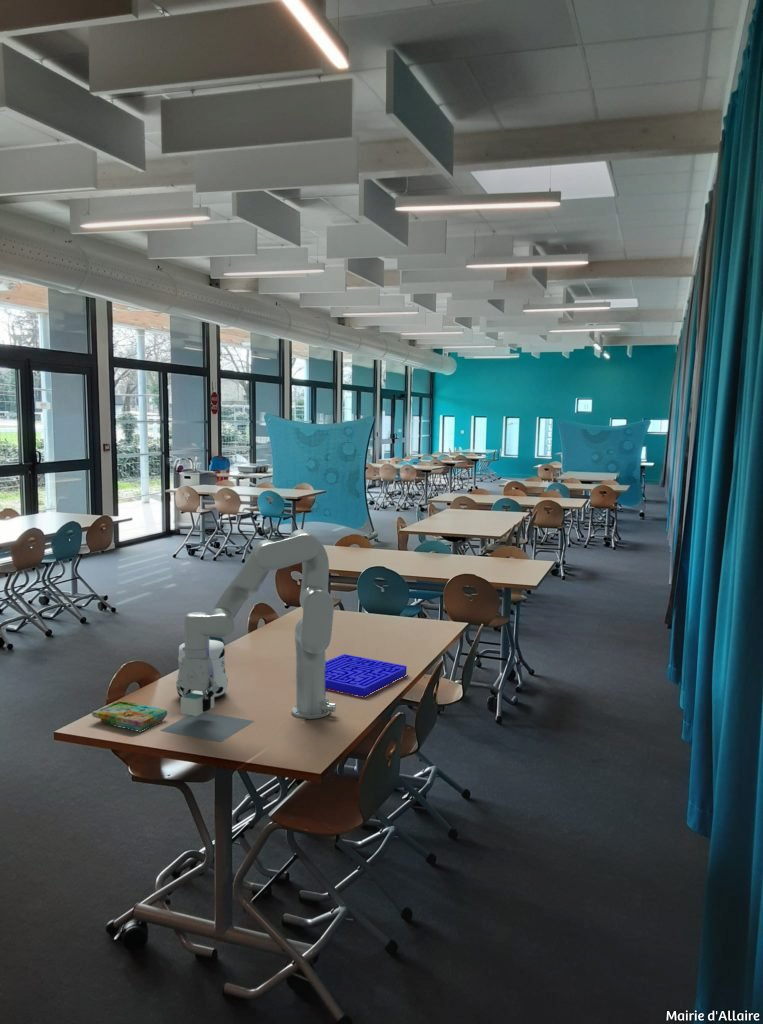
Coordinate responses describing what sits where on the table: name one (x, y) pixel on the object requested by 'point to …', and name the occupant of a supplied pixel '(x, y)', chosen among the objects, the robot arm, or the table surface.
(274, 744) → the table surface
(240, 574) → the robot arm
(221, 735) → the mat
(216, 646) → the milk container
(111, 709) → the puzzle game
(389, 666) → the maze
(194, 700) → the card box
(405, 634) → the table surface
